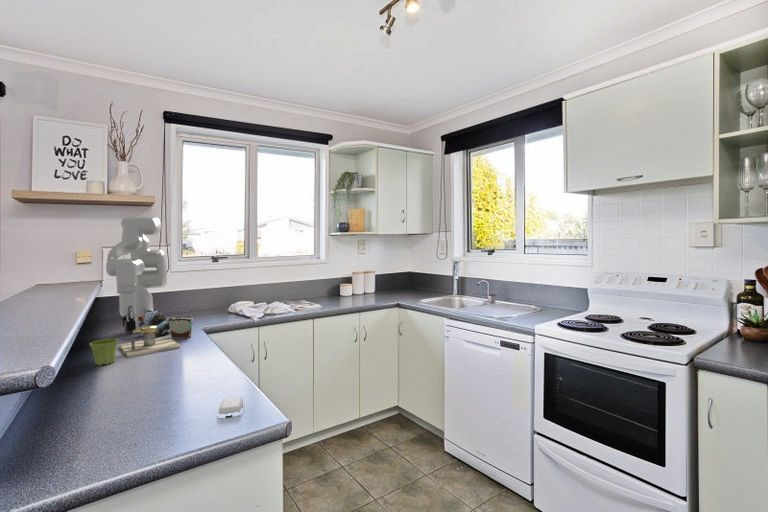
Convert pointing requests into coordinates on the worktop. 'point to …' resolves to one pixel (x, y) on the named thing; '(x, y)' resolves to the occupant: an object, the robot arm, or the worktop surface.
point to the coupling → (143, 329)
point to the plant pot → (104, 351)
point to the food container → (180, 326)
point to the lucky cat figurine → (155, 321)
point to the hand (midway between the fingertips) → (129, 328)
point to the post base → (149, 349)
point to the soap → (231, 405)
